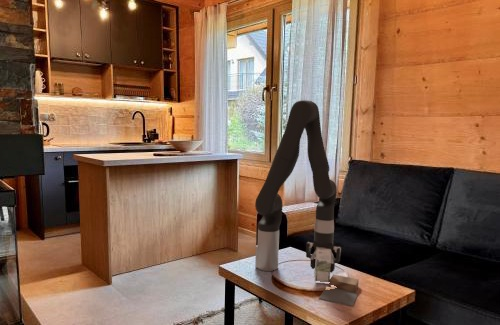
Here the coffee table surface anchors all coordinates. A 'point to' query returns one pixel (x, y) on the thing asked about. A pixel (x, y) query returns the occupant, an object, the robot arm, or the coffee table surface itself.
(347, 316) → the coffee table surface
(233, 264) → the coffee table surface
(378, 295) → the coffee table surface
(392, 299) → the coffee table surface
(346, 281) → the step block
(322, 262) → the syrup box
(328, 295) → the mat
